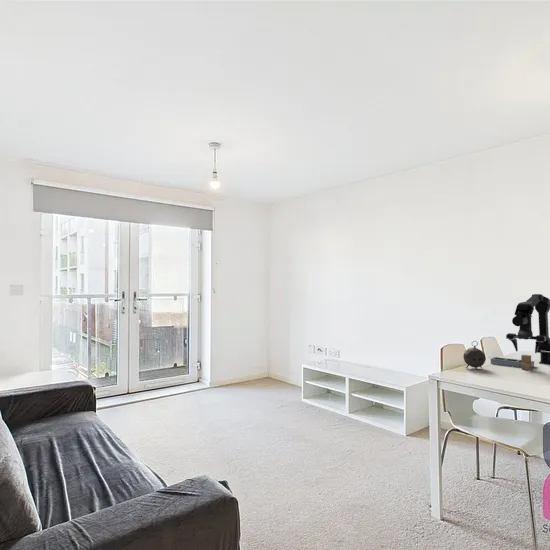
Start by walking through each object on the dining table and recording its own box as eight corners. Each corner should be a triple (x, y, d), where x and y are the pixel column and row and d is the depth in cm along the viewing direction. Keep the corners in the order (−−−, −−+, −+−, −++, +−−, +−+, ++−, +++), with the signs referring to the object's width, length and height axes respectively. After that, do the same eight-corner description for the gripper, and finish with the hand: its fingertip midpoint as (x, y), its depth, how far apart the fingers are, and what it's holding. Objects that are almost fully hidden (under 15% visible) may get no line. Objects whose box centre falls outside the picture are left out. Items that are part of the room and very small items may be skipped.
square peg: (523, 368, 225) (522, 354, 225) (531, 369, 222) (531, 355, 222) (521, 369, 222) (521, 355, 222) (529, 370, 219) (529, 356, 219)
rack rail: (490, 363, 238) (490, 359, 238) (494, 361, 245) (494, 356, 245) (530, 368, 224) (530, 363, 224) (534, 366, 230) (534, 361, 230)
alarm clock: (482, 368, 226) (482, 340, 227) (487, 370, 221) (486, 341, 221) (463, 367, 228) (462, 340, 228) (467, 369, 222) (466, 341, 223)
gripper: (503, 325, 223) (504, 352, 223) (542, 327, 210) (542, 356, 210) (508, 323, 231) (509, 349, 231) (546, 325, 219) (546, 353, 218)
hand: (526, 352), depth 222 cm, fingers open, 9 cm apart
